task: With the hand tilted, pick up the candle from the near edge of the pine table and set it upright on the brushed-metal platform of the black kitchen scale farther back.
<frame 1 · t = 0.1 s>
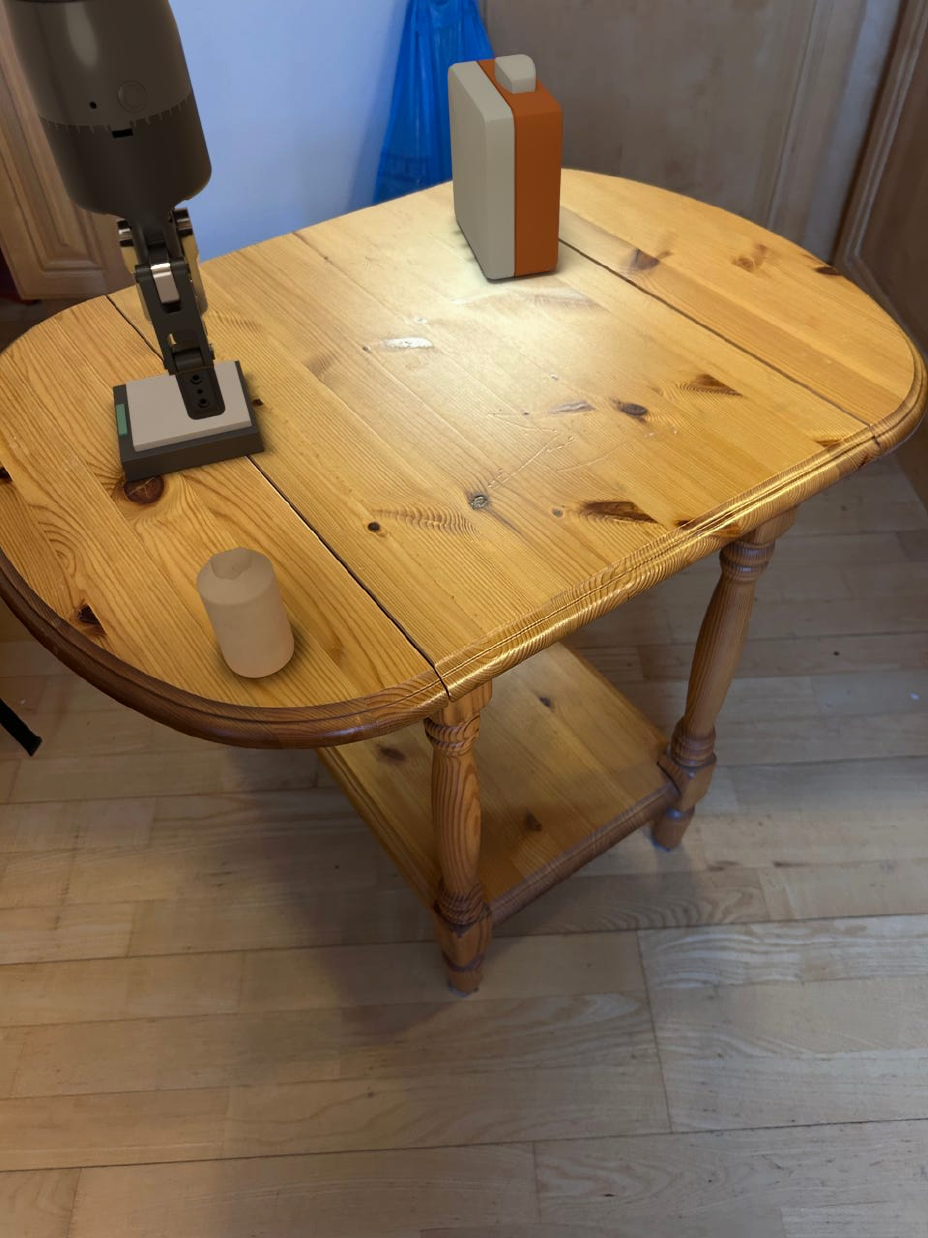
hand: (199, 375, 56), 23 cm above the table, tool pointing down, fingers open, 8 cm apart
candle: (260, 652, 71), on the table
scale: (189, 427, 91), on the table
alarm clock: (503, 246, 113), on the table
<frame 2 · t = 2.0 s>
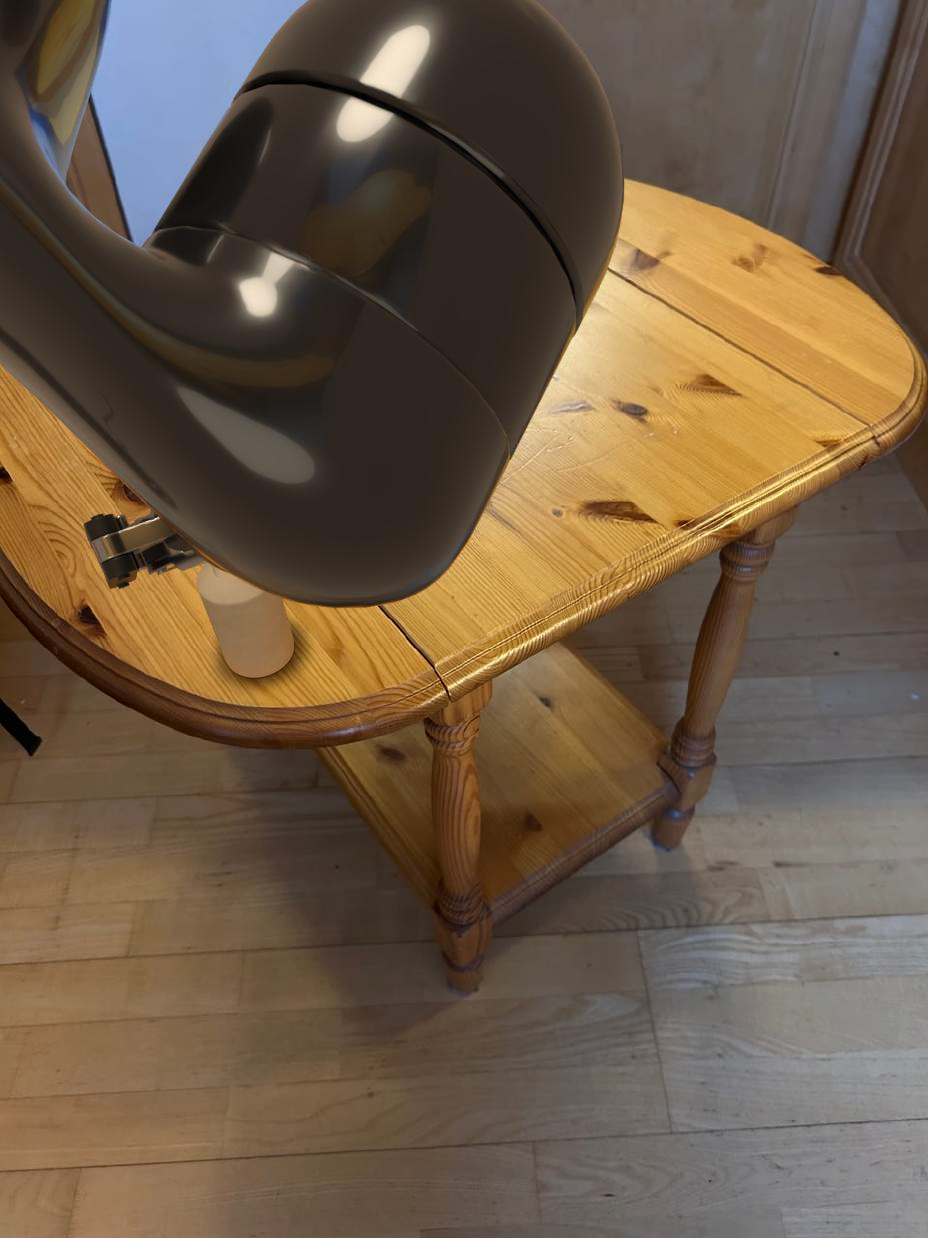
hand: (242, 520, 47), 23 cm above the table, tool tilted 45°, fingers open, 8 cm apart
nothing on the table moved.
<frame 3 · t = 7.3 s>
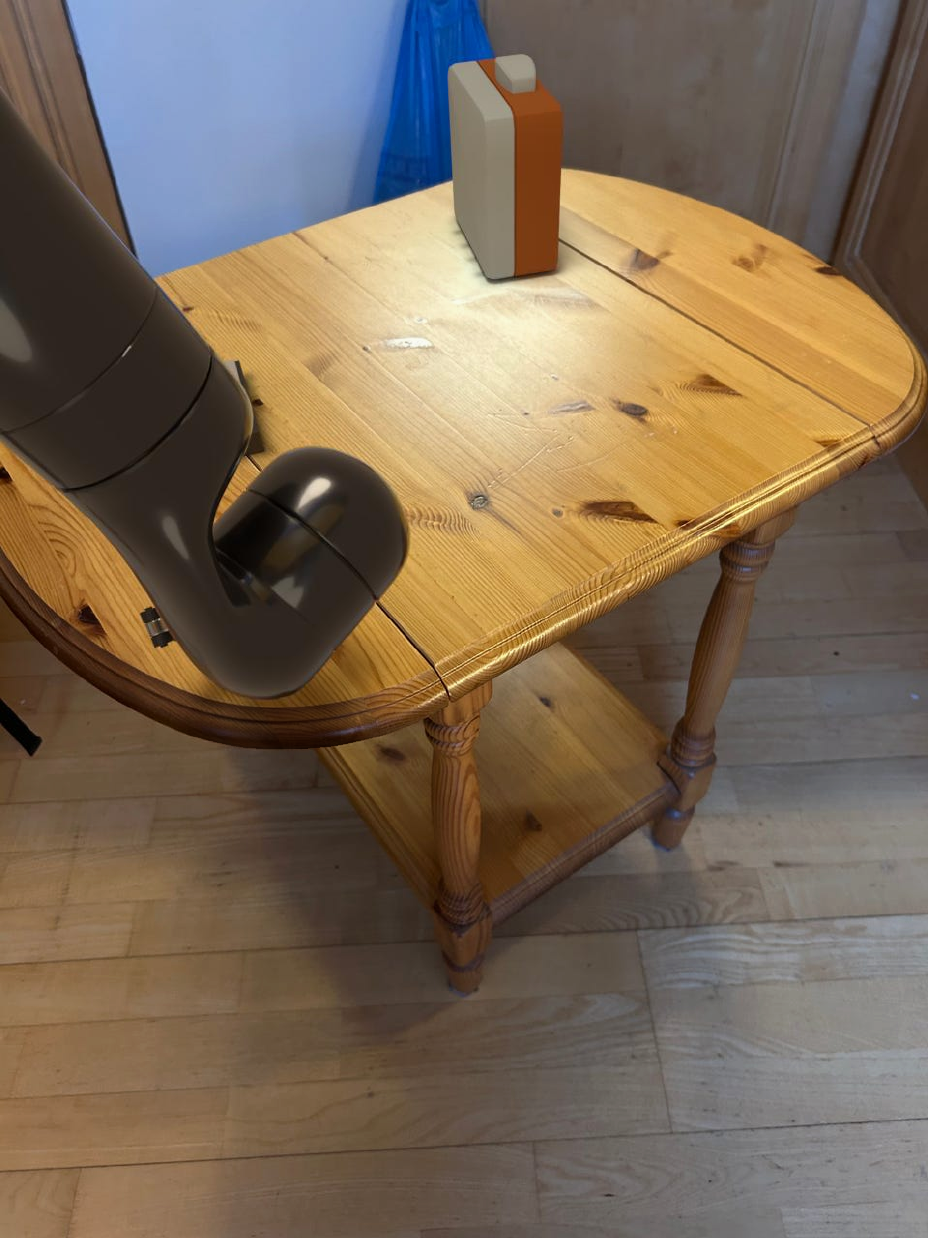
hand: (239, 596, 68), 5 cm above the table, tool tilted 45°, fingers closed on candle, 5 cm apart
candle: (260, 652, 71), on the table, touching gripper
everything else where it was.
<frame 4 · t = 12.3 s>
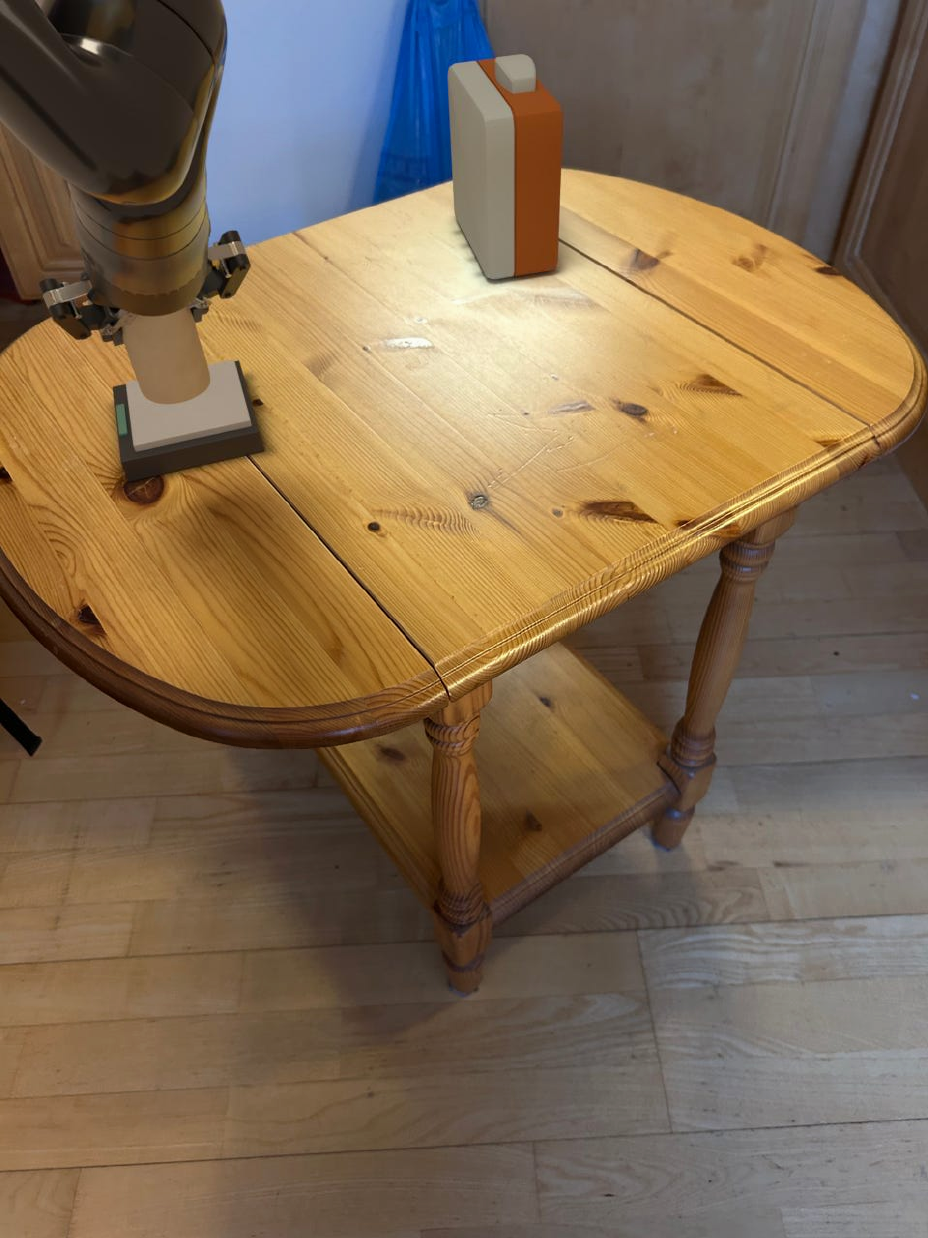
hand: (153, 321, 70), 18 cm above the table, tool tilted 45°, fingers closed on candle, 5 cm apart
candle: (177, 387, 72), point 13 cm above the table, touching gripper
everything else where it was.
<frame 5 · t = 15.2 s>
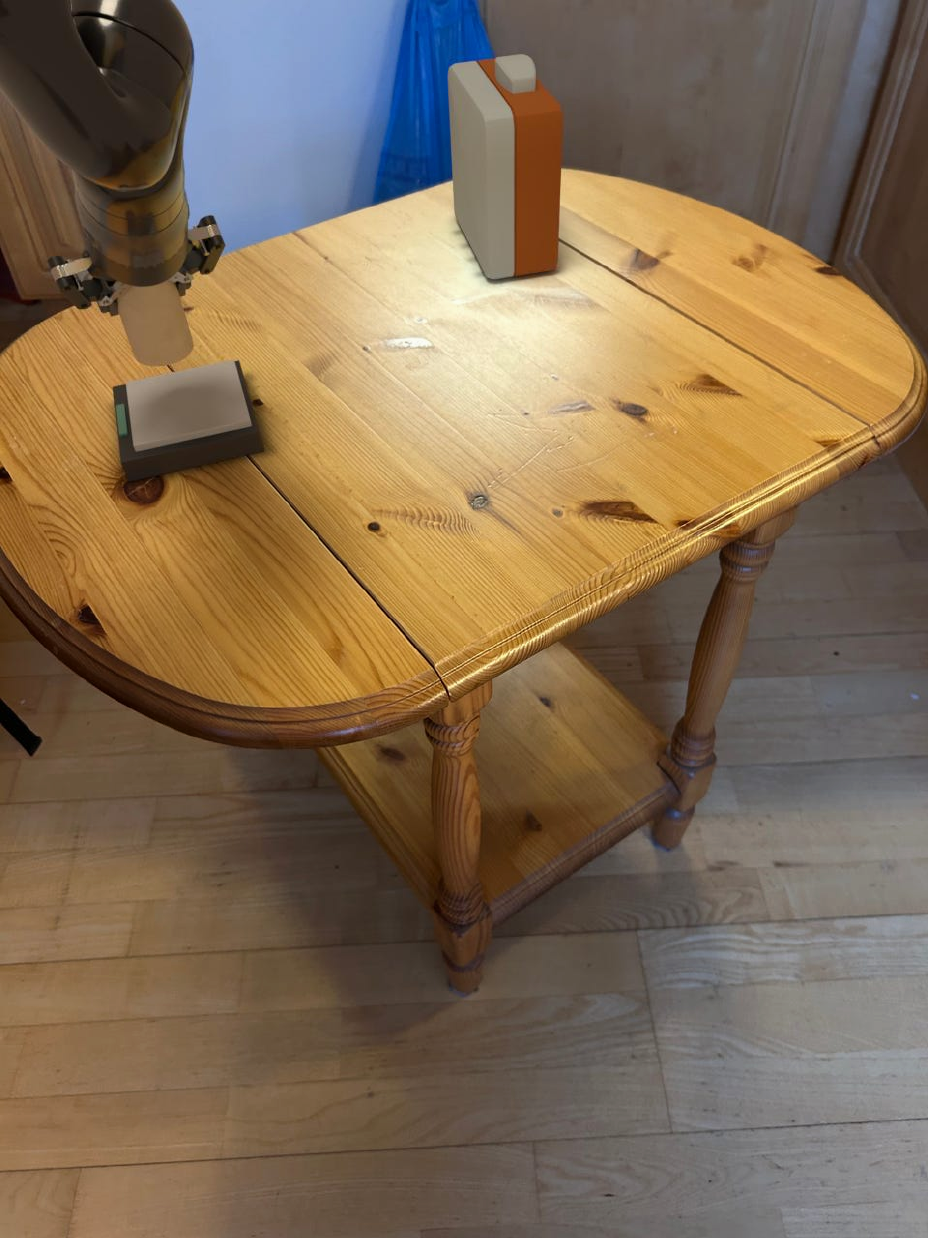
hand: (143, 295, 81), 14 cm above the table, tool tilted 45°, fingers closed on candle, 5 cm apart
candle: (165, 352, 84), point 9 cm above the table, touching gripper
everything else where it was.
when the fingers open (8 cm above the table, at t = 17.3 s): candle stays where it is, resting on scale.
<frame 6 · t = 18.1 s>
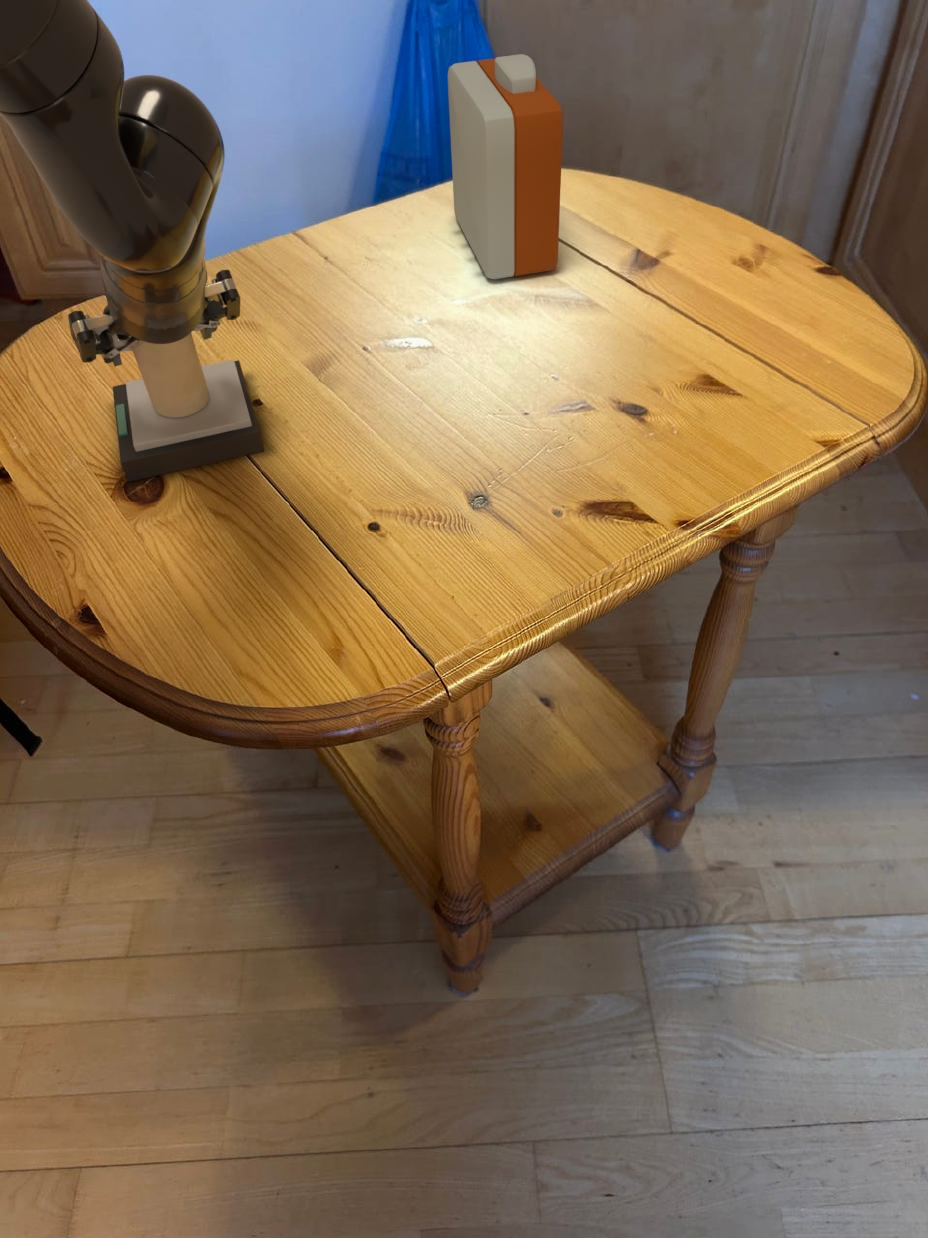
hand: (158, 342, 84), 9 cm above the table, tool tilted 45°, fingers open, 8 cm apart
candle: (182, 403, 88), point 3 cm above the table, touching scale
everything else where it was.
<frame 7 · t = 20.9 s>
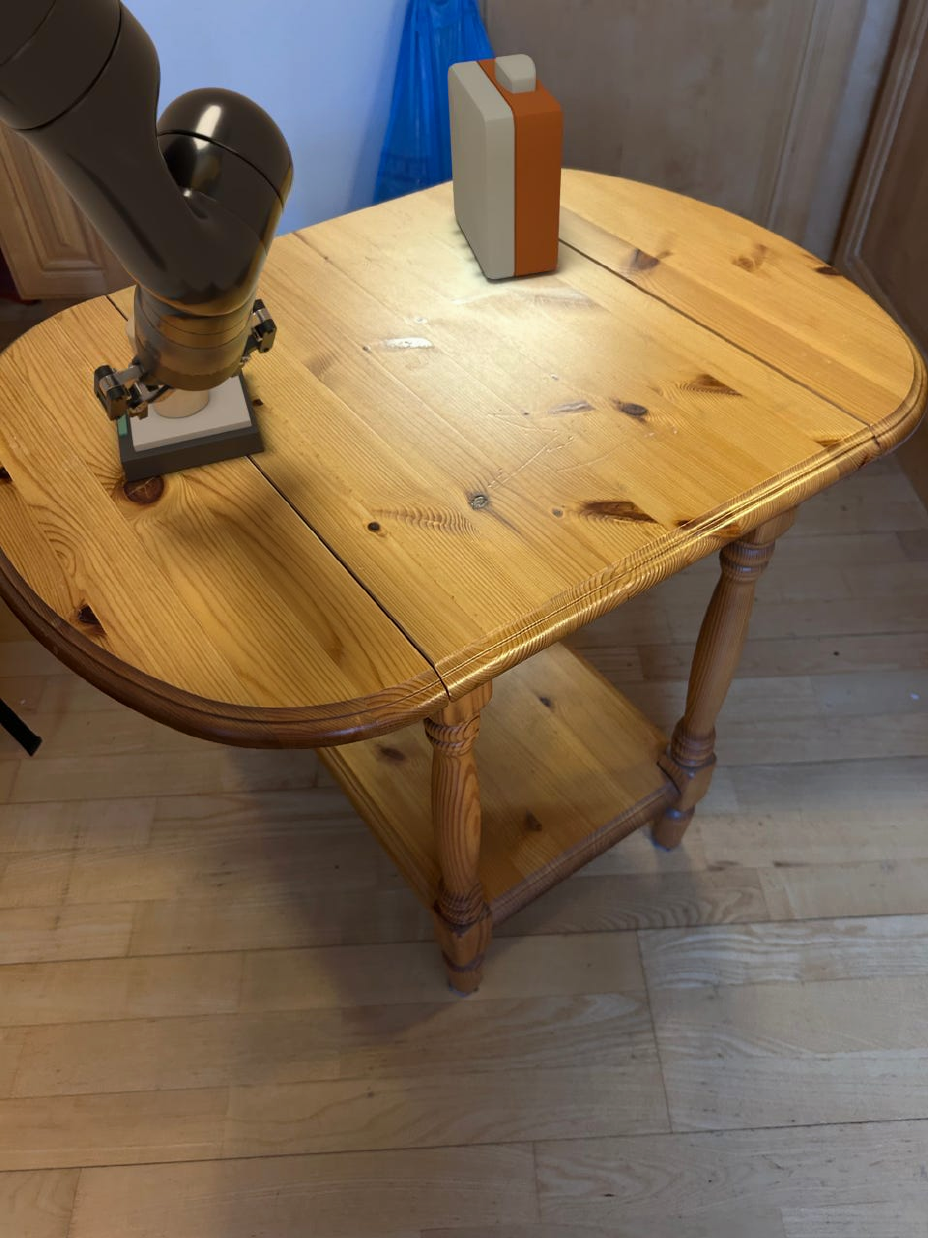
hand: (183, 386, 76), 11 cm above the table, tool tilted 45°, fingers open, 8 cm apart
nothing on the table moved.
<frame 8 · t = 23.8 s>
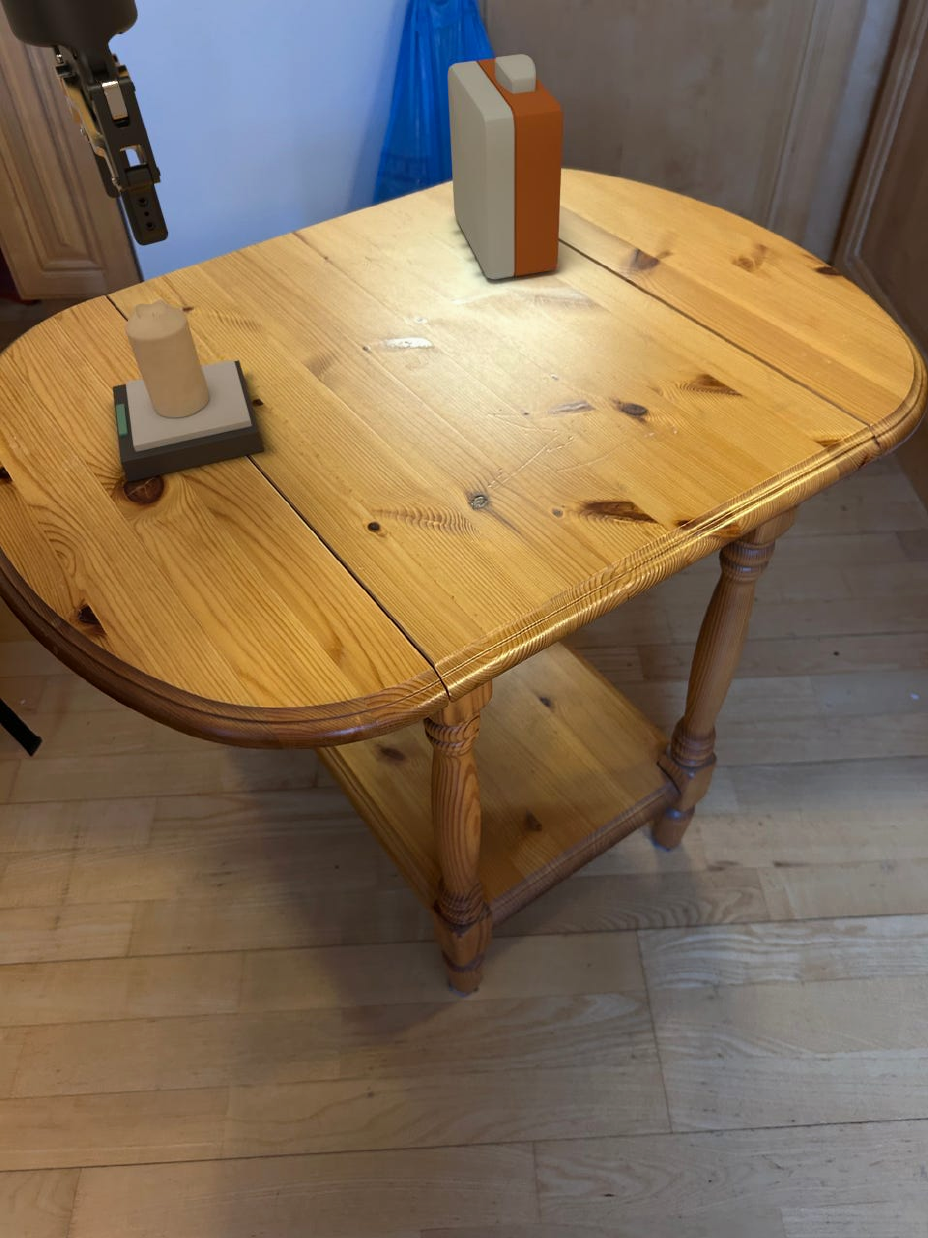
hand: (137, 216, 64), 26 cm above the table, tool pointing down, fingers open, 8 cm apart
nothing on the table moved.
at the end: candle inside the target area on the scale (0.2 cm from its centre), point 3.0 cm above the scale's base; candle tilted 0°; the gripper is holding nothing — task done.
